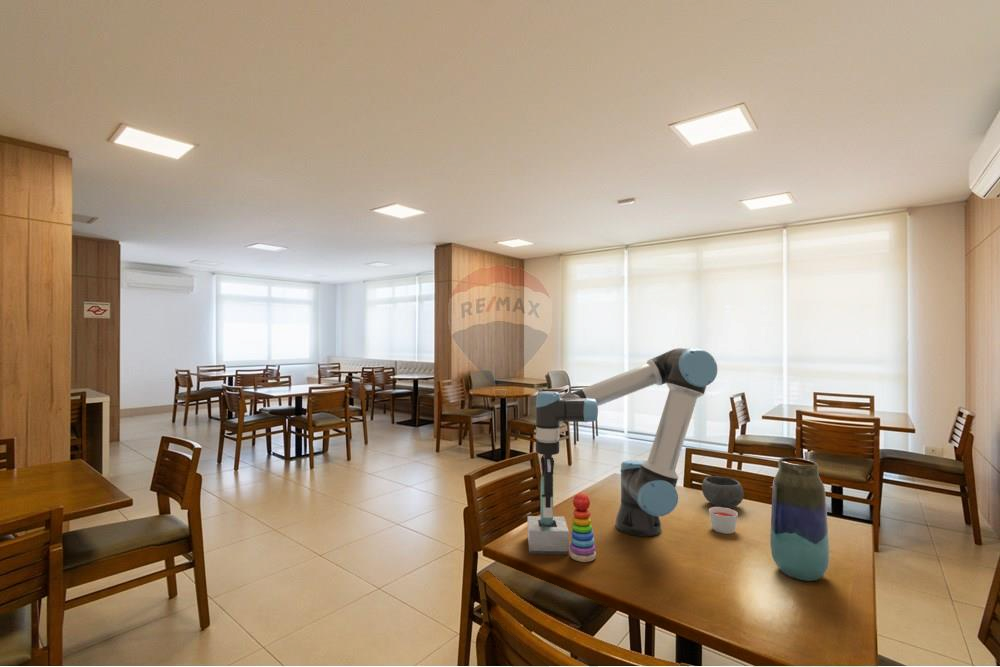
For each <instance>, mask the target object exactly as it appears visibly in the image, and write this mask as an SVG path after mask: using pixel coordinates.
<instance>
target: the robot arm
mask: <svg viewBox="0 0 1000 667" xmlns="http://www.w3.org/2000/svg"><path fill="white" fill-rule="evenodd" d="M717 375H718V365H717V361H716V360H715V358H714V356H713V355H712V354H711V353H709V352H708V351H706V350H704V349H701V348H695V347H691V348H681V347H678V348H674V349H671V350H669V351H665V352H664V353H662V354H660V355H657V356H655V357H653V358H650V359H648V360H647V362H646V363H645V364H643V365H640V366H637V367H635V368H633V369H630V370H628V371H625V372H622V373H619V374H616V375H615V376H614V375H613V376H611V377H609V378H606V379H604V380H601V381H599V382H597V383H596V382H595V383H594V384H591V385H588V386H586V387H583V388H581V389H578V390H576V391H573V392H566V393H565V392H564V394H562V395H561V396H560V392H558V391H551V390H545V391H544V390H543V391H539V392H537V394H536V400H535V429H534V430H533V432H534V433H535V439H536V440H535V452H536V453H537V454H538V455H542V456H541V457H540V463H541V466H540V467H541V477H543V476H544V495H542V497H543V517H545V518H552V497H553V498H554V466H555V459H554V457H553V456H554V455H558V454H559V453H560V442H559V440H560V434H561V433H560V432H561V430H560V429H561V427H560V422H563V423H565V422H567V423H569V422H570V423H571V422H572V423H573V422H574V423H593V422H595V421H597V420H598V414H599V408H598V407H599V406H601V405H604V404H607V403H610V402H612V401H615V400H618V399H620V398H623V397H625V396H629V395H630V394H633V393H636V392H638V391H641V390H644V389H646V388H648V387H651V386H654V385H657V386H662V385H664V384H666V385H667V388H668V389H669V390H668V394H667V397H666V400H665V403H664V407H663V411H662V413H661V417H660V419H659V422H658V425H657V426H658V427H657V429H656V432H655V435H654V436H655V437H654V439H653V443H652V446H651V449H650V452H649V454H648V455H649V456H648V459H647V460H637V459H636V460H635V459H633V460H624V461H622V463H621V464H620V469H619V470H620V499H621V500H620V506H619V508H618V512H617V514H616V517H615V518H616V519H615V527H616V529H618V530H619V531H620V532H623V533H625V534H628V535H631V536H637V537H653V536H657V535H659V534H661V532H662V523H661V519H660V517H664V516H666V515H669V514H671V513H672V512H673V511H674V510H675V509H676V507H677V505H678V502H679V494H678V490H677V489H676V486H677V483H678V479H679V476H678V474H677V472H676V468H677V465H678V461H679V458H680V455H681V451H682V449H683V445H684V442H685V438H686V435H687V434H688V430H689V426H690V423H691V420H692V416H693V413H694V410H695V407H696V404H697V400H698V399H699V398H701V397H702V396H704V395H705V392H706V389H707V386H710V384H711V383H714V381H715V379H716V378H717Z"/></svg>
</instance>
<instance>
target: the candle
mask: <svg viewBox="0 0 1000 667" xmlns="http://www.w3.org/2000/svg"><path fill="white" fill-rule="evenodd" d="M708 512H709V518H710V522H711V528H712V530H714V531H715V532H718V533H721V534H727V535H730V534H731V535H732V534H733V533H735V531H736V526H737V522H738V515H739V512H738V511H736V510H734V509H731V508H723V507H718V506H713V507H710V508H708Z"/></svg>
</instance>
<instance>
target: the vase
mask: <svg viewBox="0 0 1000 667" xmlns="http://www.w3.org/2000/svg"><path fill="white" fill-rule="evenodd" d="M771 494H772V495H771V496H772V497H771V515H770V516H771V518H770V553H771V556H772V559H773V561H774V563H775V565H776V566H777V568H778V569H779V570H780V571H781V572H782V573H783V574H785V575H786V576H788V577H790V578H793V579H796V580H799V581H806V582H813V581H815V582H816V581H818V580H820V579H822V577H823V576H824V575H825V574H826V572H828V570H829V566H830V553H831V551H830V537H829V526H828V525H829V524H828V522H829V521H828V512H827V509H828V508H827V500H826V499H827V497H826V488H825V485H824V483H823V481H822V480H821V477H820V475H819V464H818V463H817V462H816V461H813V460H809V459H804V458H799V457H781V458H779V459H778V470H777V472H776V474H775V476H774V478H773V481H772V493H771Z"/></svg>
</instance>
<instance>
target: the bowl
mask: <svg viewBox="0 0 1000 667" xmlns="http://www.w3.org/2000/svg"><path fill="white" fill-rule="evenodd" d="M701 490H702V494H703V496H704V499H706V501H708V502H709V503H710V504H712V505H714V506H715V507H723V508H728V509H731V508H735V507H737V506H739V505H740V504H741V503H742V502H743V499H744V497H745V496H744V489H743V485H742V484H741V483H740V481H738V480H737V479H735V478H732V477H728V476H718V475H716V476H715V475H714V476H707V477H705V478H704V479H703V481H702V484H701Z"/></svg>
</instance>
